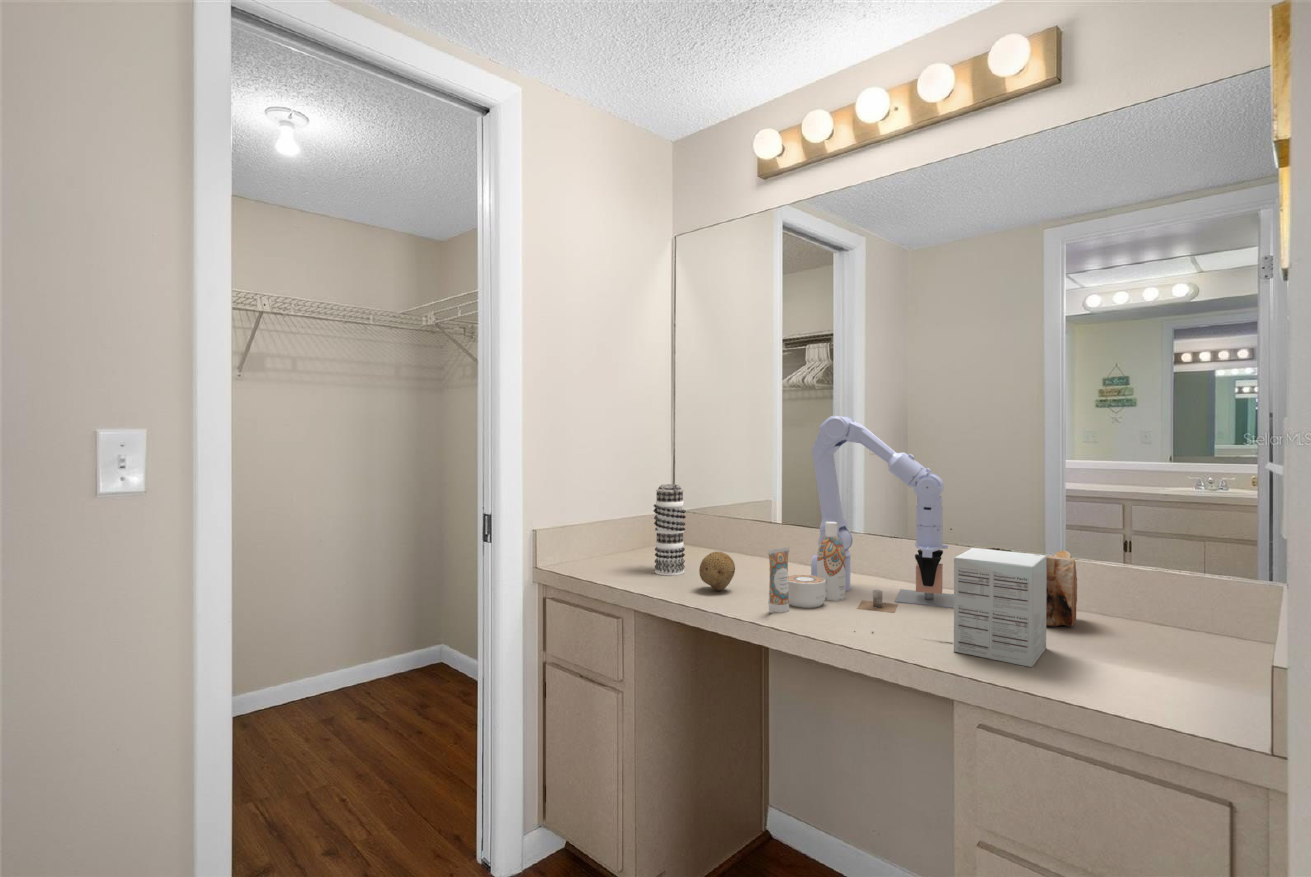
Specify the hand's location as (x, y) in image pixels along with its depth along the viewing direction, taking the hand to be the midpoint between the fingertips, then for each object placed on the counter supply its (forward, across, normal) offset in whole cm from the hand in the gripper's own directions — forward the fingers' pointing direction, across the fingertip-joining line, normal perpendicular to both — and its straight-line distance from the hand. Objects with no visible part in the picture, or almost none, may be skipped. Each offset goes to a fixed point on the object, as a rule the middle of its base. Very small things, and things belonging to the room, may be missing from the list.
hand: (929, 583), depth 157 cm
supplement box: (+5, -31, -14) cm, 34 cm away
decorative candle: (+5, +4, +69) cm, 69 cm away
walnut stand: (+4, -12, +10) cm, 16 cm away
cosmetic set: (+5, -16, +25) cm, 30 cm away
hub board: (+5, 0, 0) cm, 5 cm away
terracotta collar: (+2, 0, 0) cm, 2 cm away
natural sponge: (+5, -11, +49) cm, 50 cm away
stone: (+5, -7, -25) cm, 26 cm away
